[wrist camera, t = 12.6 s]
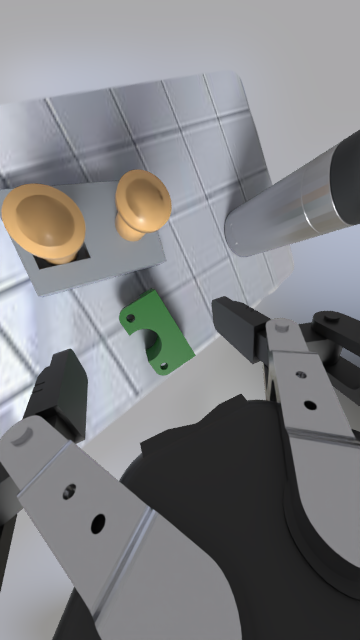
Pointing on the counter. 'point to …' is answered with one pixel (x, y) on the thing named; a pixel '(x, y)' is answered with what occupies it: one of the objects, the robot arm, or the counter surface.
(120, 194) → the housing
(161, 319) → the clamp
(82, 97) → the counter surface
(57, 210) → the tan peg
